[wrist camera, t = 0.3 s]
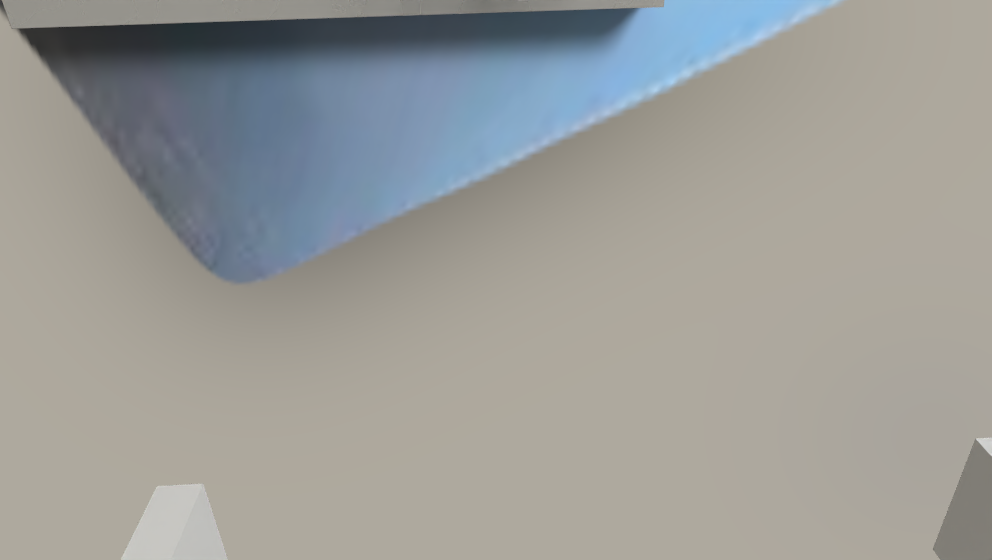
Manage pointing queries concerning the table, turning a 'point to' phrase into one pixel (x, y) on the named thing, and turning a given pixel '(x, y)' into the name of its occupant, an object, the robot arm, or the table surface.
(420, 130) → the table surface
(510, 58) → the table surface
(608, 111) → the table surface
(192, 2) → the white holed flat block
